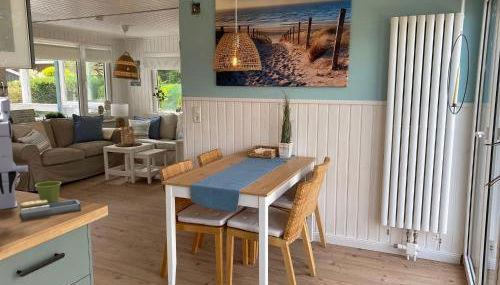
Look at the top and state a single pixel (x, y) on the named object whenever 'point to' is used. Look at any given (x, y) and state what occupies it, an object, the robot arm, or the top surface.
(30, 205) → the brass chip
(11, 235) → the top surface
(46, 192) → the plant pot
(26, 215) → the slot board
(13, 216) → the top surface
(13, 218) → the top surface
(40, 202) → the brass chip
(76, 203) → the tray
